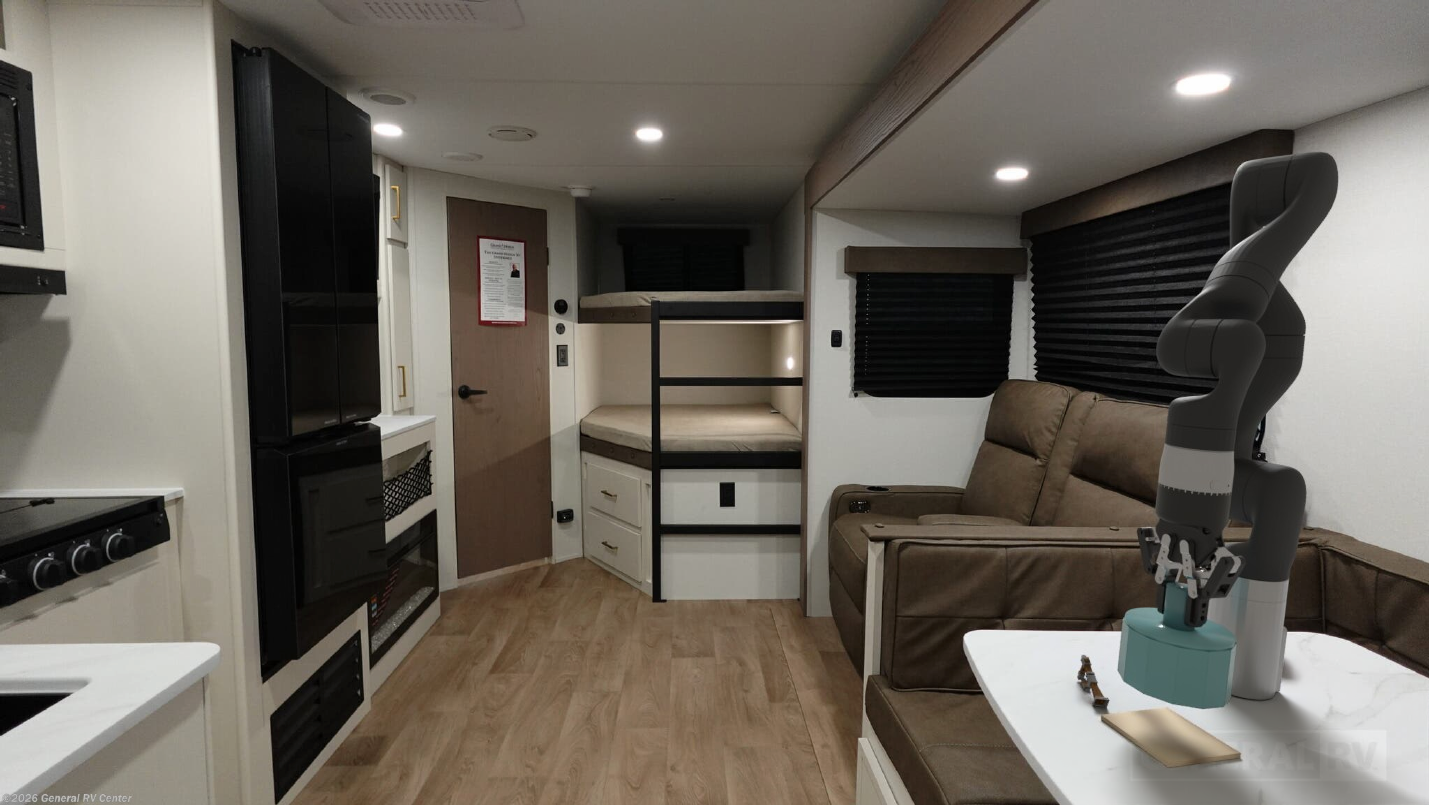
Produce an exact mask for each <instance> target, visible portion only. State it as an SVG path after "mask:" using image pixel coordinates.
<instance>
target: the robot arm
mask: <svg viewBox="0 0 1429 805" xmlns="http://www.w3.org/2000/svg"><path fill="white" fill-rule="evenodd" d="M1338 189H1339V171H1338V164H1337V162H1336V159H1335V158H1334V157H1333V156H1332V155H1331V154H1330V153H1329V152H1328V153H1327V152H1323V151H1309V152H1301V153H1294V154H1285V155H1279V156H1272V157H1271V156H1270V157H1264V158H1258V159H1252V160H1248V161H1245V162H1242V163H1241V165H1239V166H1238V168H1237V169H1236V171H1235V174H1234V176H1233V179H1232V183H1231V190H1230V200H1229V201H1230V202H1229V250H1228V251H1226V253H1225V254H1223V256H1222V257H1221V258H1220V259H1219V260H1218V261H1217V263H1216V264H1215V266H1214V267H1213V269H1212V271H1211V273H1210V275H1209V277H1208V278H1207V280H1206V283H1205V284H1204V287H1203V288H1202V290H1201V292H1199V294H1197V296H1195V297H1193V299H1192V300H1191V301H1190V302H1188V303H1187V304H1186V305H1185V306H1184V307H1183V308H1182V309H1180V310H1179V311H1178V312H1177V313H1176V314H1175V315H1173V316H1172V318H1171V319H1170V320H1169V321H1168V322H1167V324H1166V325H1165V326H1164V328H1163V329H1162V331H1161V333H1160V335H1159V337H1158V340H1157V343H1156V350H1155V351H1156V358H1157V361H1158V364H1159V365H1160V367H1161V368H1162V369H1163V370H1164V371H1165V372H1167V373H1168V374H1171V375H1174V376H1180V377H1189V378H1190V377H1191V378H1193V377H1194V378H1206V379H1207V378H1208V379H1219V380H1218V383H1217V385H1216V386H1215V388H1213V390H1212V391H1211V392H1209V393H1207V394H1203V395H1193V396H1181V397H1178V398H1175V399H1174V400H1172V401H1171V402H1170V404H1169V406H1168V410H1167V419H1166V429H1165V439H1164V445H1163V450H1162V454H1161V457H1160V464H1159V472H1158V481H1157V490H1156V499H1155V508H1154V514H1155V515H1156V517H1157V518H1159V519H1158V521H1157V522H1156V524H1155V526H1142V527H1138V528H1137V529H1136V534H1137V540H1138V544H1139V545H1138V546H1139V550H1140V551H1139V552H1140V555H1141V559H1142V564H1143V570H1144V572H1145V574H1147V575H1151V576H1152V577H1154V581H1155V582H1156V584H1157V588H1156V598H1155V604H1156V605H1155V606H1156V608H1157V611H1158V612H1159V613H1161V614H1163V613H1164V604H1165V594H1166V585H1167V583H1169V582H1179V579H1180V577H1181V574H1183V576H1184V578H1185V579H1187V582H1186V583H1187V584H1188V594H1189V596H1187V601H1186V610H1185V619H1184V624H1185V625H1186V626H1189V627H1191V628H1196V627H1202V626H1203V624H1205V623H1206V621H1207V620H1210V621H1213V622H1215V623H1217V624H1219V625H1221V626H1223V627H1225V628H1227V629H1228V630H1229V631H1231V632H1232V633H1233V634H1234V635H1235V638H1236V642H1237V650H1236V658H1235V667H1234V675H1233V684H1232V692H1231V696H1234V697H1238V698H1244V699H1248V700H1258V701H1259V700H1262V701H1263V700H1269V699H1272V698H1274V697H1275V694H1276V693H1277V692H1281V688H1282V686H1281V685H1282V678H1283V670H1284V663H1285V662H1284V661H1285V655H1286V647H1287V646H1286V643H1287V636H1288V629H1287V627H1286V626H1284V624H1285V616H1286V607H1287V598H1288V590H1289V581H1290V574H1291V569H1292V566H1293V564H1294V561H1295V558H1296V556H1297V551H1298V547H1299V541H1300V535H1301V534H1300V533H1301V529H1302V524H1303V519H1304V515H1305V510H1306V504H1307V495H1308V494H1307V486H1306V480H1305V478H1304V476H1303V474H1302V473H1301V472H1300V471H1299V470H1298V469H1296V468H1294V467H1291V466H1288V465H1284V464H1278V463H1273V462H1267V461H1263V460H1256V459H1253V458H1252V457H1253V456H1252V455H1253V446H1254V442H1255V437H1256V434H1257V431H1258V429H1259V426H1260V424H1261V422H1262V421H1263V419H1264V417H1265V416H1266V415H1267V413H1268V412H1270V410H1271V409H1272V408H1273V406H1275V404H1277V402H1278V401H1279V400H1280V399H1281V398H1282V397H1283V395H1284V394H1286V392H1287V391H1288V390H1289V388H1290V387H1291V386H1293V384H1294V382H1295V381H1296V380H1297V378H1298V376H1299V374H1300V372H1301V370H1302V368H1303V363H1304V362H1303V361H1304V352H1305V351H1304V350H1305V341H1306V333H1307V332H1306V331H1307V325H1306V324H1307V323H1306V319H1305V316H1304V313H1303V311H1302V310H1301V308H1300V306H1299V305H1298V304H1297V302H1296V301H1295V299H1294V297H1293V296H1292V295H1291V292H1289V291H1288V289H1287V287H1286V286H1285V285H1284V284H1283V283H1282V281H1281V278H1282V277H1283V274H1284V272H1285V271H1286V270H1287V269H1288V267H1289V265H1290V264H1291V262H1292V261H1294V259H1295V257H1297V255H1298V254H1299V253H1300V252H1301V250H1302V249H1303V248H1304V246H1305V245H1306V244H1307V243H1308V242H1309V240H1310V239H1311V238H1312V236H1313V235H1314V234H1315V233H1316V231H1317V230H1318V228H1320V226H1321V225H1322V224H1323V222H1324V221H1325V219H1326V218H1327V217H1328V215H1329V213H1330V212H1331V210H1332V208H1333V206H1334V203H1335V202H1336V198H1337V194H1338ZM1230 520H1231V521H1235V522H1238V523H1242V524H1245V525H1249V526H1252V527H1251V532H1250V535H1249V538H1248V540H1246V541H1242V542H1241V541H1240V542H1225V539H1224V535H1223V532H1224V530H1225V528H1226V527H1227V526H1228V524H1229V522H1230ZM1153 557H1154V560H1153ZM1154 563H1155V564H1154ZM1196 569H1201V570H1196ZM1182 572H1183V573H1182Z"/></svg>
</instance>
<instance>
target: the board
mask: <svg viewBox="0 0 1429 805" xmlns="http://www.w3.org/2000/svg"><path fill="white" fill-rule="evenodd" d="M1100 720H1101V721H1103V722H1104V723H1106V724H1107V725H1108V726H1110V727H1111V728H1112V729H1114V730H1115V731H1117V732H1118V733H1119V734H1121V735H1122V736H1124V737H1125V738H1126V739H1128V740H1129V741H1130V742H1132V743H1133V744H1134V745H1136V746H1137V747H1139V748H1140V749H1142V750H1143V751H1145V753H1147V754H1149V755H1150V756H1152V757H1153V758H1154V759H1156V760H1157V761H1158V762H1160V763H1161V764H1162V765H1164V766H1166V767H1167V768H1175V767H1181V766H1183V767H1184V766H1188V765H1196V764H1197V765H1198V764H1204V763H1211V762H1219V761H1225V760H1234V759H1240V758H1241V757H1242V756H1241V755H1242V753H1241V752H1240V751H1239V750H1237V749H1235V748H1233V747H1232V746H1230V745H1229V744H1227V743H1225V742H1224V741H1223V740H1221V739H1220V738H1217V737H1216V736H1215V735H1213V734H1212V733H1211V732H1208V731H1206V730H1205V729H1203V728H1201V727H1200V726H1198V725H1197V724H1195V723H1193V722H1192V721H1190V720H1188V719H1187V718H1185V717H1184V716H1183V715H1181V714H1179V713H1177V712H1176V711H1174V710H1172V709H1171V708H1169V707H1159V708H1150V709H1143V710H1142V709H1141V710H1132V711H1124V712H1115V713H1107V714H1106V713H1105V714H1101V715H1100Z"/></svg>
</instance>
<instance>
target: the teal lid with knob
mask: <svg viewBox="0 0 1429 805" xmlns="http://www.w3.org/2000/svg"><path fill="white" fill-rule="evenodd" d="M1187 596H1189V594H1188V583H1184V582H1179V581H1178V582H1169V583H1167V585H1166V594H1165V604H1164V613H1163V614H1161V613H1159V612H1158V611H1157V608H1158V607H1136V608H1131V609H1129V610H1127V611H1126V612H1125V614H1124V617H1122V623H1121V631H1120V632H1121V633H1120V641H1119V652H1118V662H1117V672H1118V674H1119V676H1120V677H1121V679H1122V681H1123V682H1124V683H1125V684H1126V685H1129V686H1130V687H1132V688H1133V689H1135V690H1137V691H1138V692H1140V693H1141V694H1142V695H1146V696H1148V697H1150V698H1154V699H1156V700H1160V701H1162V702H1165V703H1168V704H1171V705H1175V706H1181V707H1185V708H1186V707H1188V708H1192V709H1200V710H1207V709H1218V708H1225V706H1226V705H1227V704H1228V703H1229V702H1230V699H1231V698H1232V695H1231V692H1232V684H1233V675H1234V667H1235V658H1236V650H1237V642H1236V638H1235V635H1234V634H1233V633H1232V632H1231V631H1229V630H1228V629H1227V628H1225V627H1223V626H1221V625H1219V624H1217V623H1215V622H1213V621H1210V620H1207V621H1206V623H1205V624H1203V626H1202V627H1196V628H1191V627H1189V626H1186V625H1185V624H1184V619H1185V610H1186V601H1187Z"/></svg>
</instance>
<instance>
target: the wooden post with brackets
mask: <svg viewBox="0 0 1429 805" xmlns="http://www.w3.org/2000/svg"><path fill="white" fill-rule="evenodd" d="M1080 662H1081V666H1080V669H1079V670H1078V672H1077V676H1076V677H1077V680H1078V681H1080V686H1082V690H1083V691H1085V692H1086V693H1090V692H1091V693H1092V696H1093V702H1092V704H1091V705H1092V707H1101V708H1102V707H1103V708H1107V709H1108V705H1109V703H1110V699H1109V697H1105V696H1104V694H1103V692H1102V691H1101V689H1100V687H1099V685H1098V684H1099V682H1098V680H1097V678H1096V675H1095V672H1094V671H1093V668H1092V662H1091V660H1090V657H1089V656H1087V655H1085V654H1082V655H1081V657H1080Z"/></svg>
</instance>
